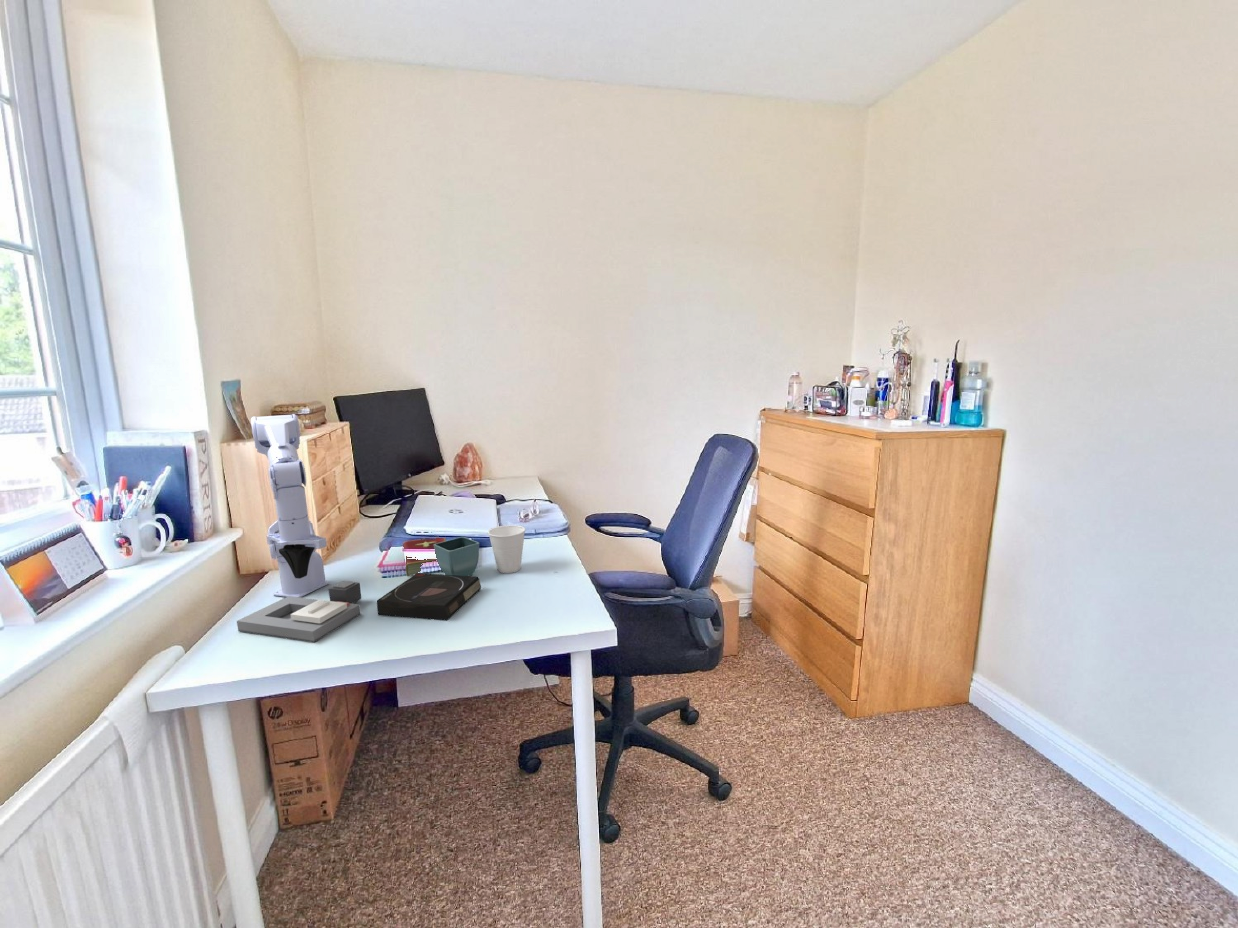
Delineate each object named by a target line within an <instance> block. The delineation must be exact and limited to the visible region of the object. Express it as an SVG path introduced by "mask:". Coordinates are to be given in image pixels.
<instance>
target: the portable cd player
mask: <svg viewBox="0 0 1238 928" xmlns="http://www.w3.org/2000/svg"><path fill="white" fill-rule="evenodd" d="M481 590H482V585H481V582H480V577H479V576H475V575H474V576H473V575H471V576H459V575H445V574H440V573H439V574H438V573H417V574H415V575H411V577H409V578H408V579H406V580H405V581H404V582H402V583H400V584H399V585H397V586H396V587H395V588H393V589H392V590H390V591H388V592H387V593H386V594H384V595H383V596H380V597H379V598H378V599H377V600H376V609H377V616H379V617H392V618H406V619H408V618H409V619H420V620H431V619H434V620H433V621H448V620H450V619H451V617H452V616H454V615H455V614H456V613H457V612H458V611H459V610H460V609H461V608H462V607H464V605H466V604H468V602H469V601H470V600H471V599H472V598H474V596H475V595H477V594H478V592H480V591H481Z"/></svg>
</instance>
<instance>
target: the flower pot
mask: <svg viewBox="0 0 1238 928" xmlns="http://www.w3.org/2000/svg"><path fill="white" fill-rule="evenodd" d="M434 549H435V554H436V558H437V562H438V564H439V566H440V568H441V570H442V572H443V575H459V576H473V574H474V573H475V572H476V569H477V566H478V565H479V564H478V563H479V557H480V555H479V554H480V541H479V542H478V541H476V540H473V539H470V538H468V537H465V536H460V537H455V538H452V539H448V540H447V539H446V541H444V542H440V543H436V544H434Z"/></svg>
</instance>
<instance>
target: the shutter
mask: <svg viewBox="0 0 1238 928" xmlns="http://www.w3.org/2000/svg"><path fill="white" fill-rule="evenodd" d="M346 608H347V603H343V602H334V601H330V600H323V599H317V601H315V602H313V603H311V604H310V605H308V606H306V607H304V608H302V609H300V610H298V611H296V612H294V613H292V614H291V620H297V621H305V622H312V623H322V622H324V621H325V620H327V619H329V618H331V617H332V616H334V615H336V614H338V613H339V612H341V611H343V610H345V609H346Z"/></svg>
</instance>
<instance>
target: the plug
mask: <svg viewBox="0 0 1238 928" xmlns="http://www.w3.org/2000/svg"><path fill="white" fill-rule="evenodd" d="M328 595H329V601H334V602H338V601H340V602H348V603H351V604H356V602H358V601H360V600H361V599H362V593H361V583H360V582H358V581H357V582H356V581H348V580H342V581H340V582H339V583H336V584H335V585H333V586H330V587H329V588H328Z"/></svg>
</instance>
